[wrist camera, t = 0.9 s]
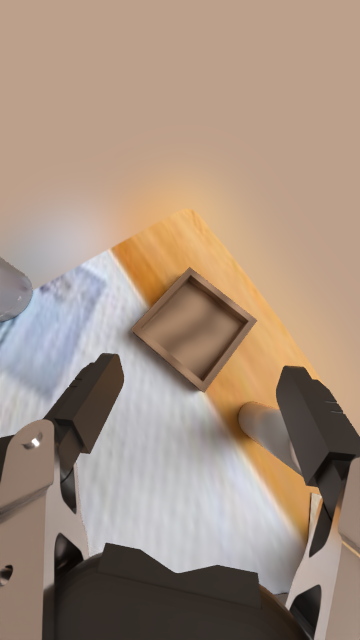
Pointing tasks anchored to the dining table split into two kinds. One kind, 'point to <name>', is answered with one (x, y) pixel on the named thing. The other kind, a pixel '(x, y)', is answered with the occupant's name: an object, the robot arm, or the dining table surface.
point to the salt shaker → (268, 431)
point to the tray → (194, 328)
